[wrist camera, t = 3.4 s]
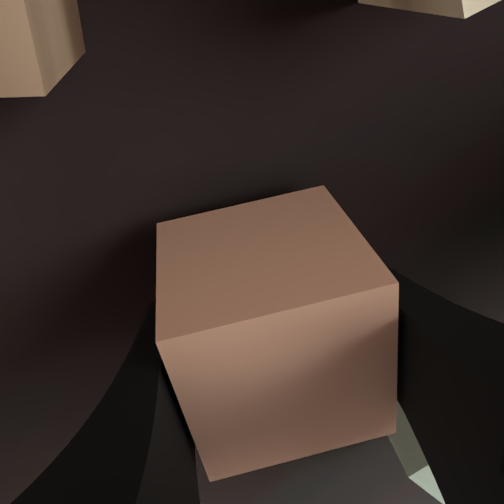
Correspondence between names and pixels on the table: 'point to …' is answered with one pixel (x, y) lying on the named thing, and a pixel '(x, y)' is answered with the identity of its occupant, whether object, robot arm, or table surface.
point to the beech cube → (436, 6)
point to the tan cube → (37, 45)
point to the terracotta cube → (276, 330)
